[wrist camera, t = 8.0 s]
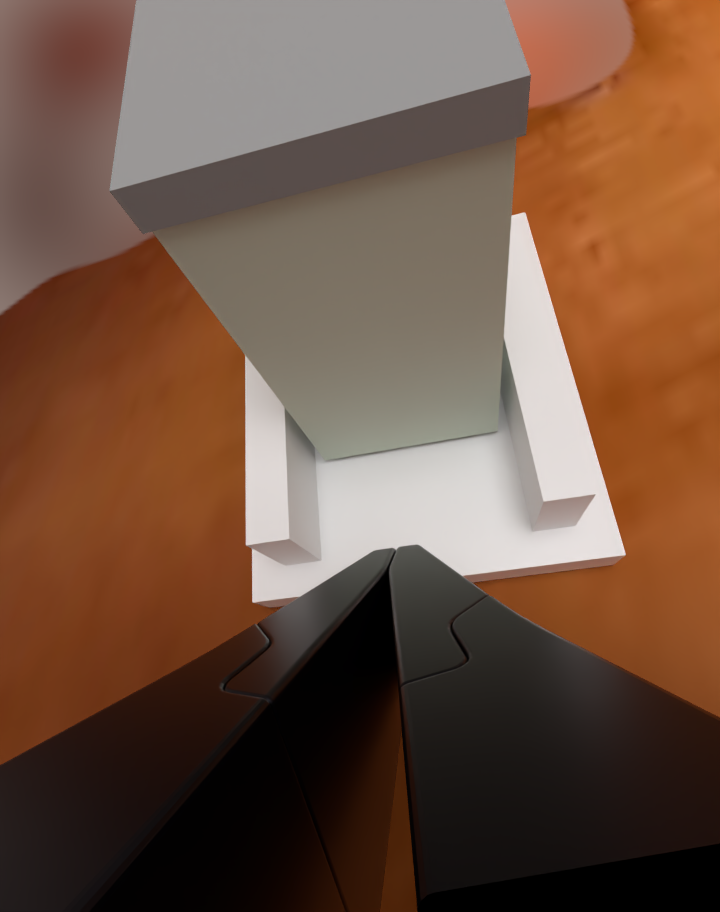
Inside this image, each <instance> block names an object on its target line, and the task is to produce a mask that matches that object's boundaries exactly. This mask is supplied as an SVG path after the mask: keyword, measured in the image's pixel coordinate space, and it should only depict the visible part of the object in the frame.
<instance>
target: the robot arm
mask: <svg viewBox="0 0 720 912" xmlns="http://www.w3.org/2000/svg"><path fill="white" fill-rule="evenodd" d="M401 728H402V738H403V750H404V761H405V773H406V784H407V795H408V807H409V818H410V830H411V841H412V853H413V864H414V875H415V887H416V898H417V910H418V912H720V718H719V717H718V716H716V715H714V714H712V713H710V712H708V711H706V710H704V709H702V708H700V707H698V706H696V705H694V704H692V703H690V702H688V701H686V700H684V699H682V698H680V697H678V696H676V695H674V694H672V693H670V692H668V691H666V690H664V689H662V688H660V687H658V686H656V685H654V684H652V683H651V682H649V681H647V680H645V679H643V678H641V677H639V676H637V675H635V674H633V673H631V672H629V671H627V670H625V669H623V668H621V667H619V666H617V665H615V664H613V663H611V662H609V661H607V660H605V659H603V658H601V657H599V656H597V655H595V654H593V653H591V652H589V651H587V650H585V649H584V648H582V647H580V646H578V645H576V644H574V643H572V642H570V641H568V640H566V639H564V638H562V637H560V636H558V635H556V634H554V633H552V632H550V631H548V630H546V629H544V628H542V627H541V626H539V625H537V624H535V623H533V622H531V621H530V620H528V619H526V618H524V617H522V616H521V615H519V614H517V613H516V612H514V611H513V610H511V609H510V608H508V607H507V606H505V605H504V604H502V603H501V602H499V601H498V600H496V599H495V598H494V597H492V596H489V595H488V594H487V593H485V592H484V591H483V590H481V589H480V588H478V587H477V586H476V585H474V584H473V583H471V582H470V581H469V580H467V579H466V578H465V577H463V576H462V575H460V574H459V573H458V572H456V571H455V570H453V569H452V568H451V567H449V566H448V565H446V564H445V563H444V562H442V561H441V560H440V559H438V558H437V557H435V556H434V555H433V554H431V553H430V552H428V551H427V550H426V549H424V548H423V547H421V546H420V545H417V544H416V545H408V546H400V547H398V548H397V550H396V549H394V548H386V549H380V550H374V551H372V552H371V553H369V554H367V555H366V556H364V557H363V558H361V559H359V560H358V561H356V562H355V563H353V564H351V565H350V566H348V567H347V568H345V569H343V570H342V571H340V572H339V573H337V574H335V575H334V576H332V577H331V578H329V579H327V580H326V581H324V582H323V583H321V584H319V585H318V586H316V587H315V588H313V589H311V590H310V591H308V592H307V593H305V594H303V595H302V596H300V597H299V598H297V599H295V600H294V601H292V602H291V603H289V604H287V605H286V606H284V607H283V608H281V609H279V610H278V611H276V612H275V613H273V614H271V615H270V616H268V617H267V618H265V619H263V620H262V621H260V622H259V623H258V624H257V625H256V624H254V625H252V626H251V627H249V628H247V629H246V630H244V631H243V632H241V633H239V634H238V635H236V636H234V637H233V638H231V639H229V640H228V641H226V642H224V643H223V644H221V645H219V646H218V647H216V648H214V649H213V650H211V651H209V652H207V653H206V654H204V655H202V656H200V657H198V658H197V659H195V660H193V661H191V662H189V663H188V664H186V665H184V666H182V667H181V668H179V669H177V670H175V671H173V672H171V673H170V674H168V675H166V676H164V677H162V678H160V679H158V680H157V681H155V682H153V683H151V684H149V685H147V686H146V687H144V688H142V689H140V690H138V691H136V692H134V693H133V694H131V695H129V696H127V697H125V698H123V699H122V700H120V701H118V702H116V703H114V704H112V705H110V706H109V707H107V708H105V709H103V710H101V711H99V712H98V713H96V714H94V715H92V716H90V717H88V718H87V719H85V720H83V721H81V722H79V723H77V724H75V725H74V726H72V727H70V728H68V729H66V730H64V731H63V732H61V733H59V734H57V735H55V736H53V737H51V738H50V739H48V740H46V741H44V742H42V743H40V744H39V745H37V746H35V747H33V748H31V749H29V750H27V751H26V752H24V753H22V754H20V755H18V756H16V757H15V758H13V759H11V760H9V761H7V762H5V763H4V764H2V765H0V912H380V906H381V897H382V889H383V880H384V872H385V863H386V855H387V846H388V838H389V829H390V821H391V813H392V804H393V796H394V787H395V779H396V770H397V762H398V753H399V745H400V736H401Z"/></svg>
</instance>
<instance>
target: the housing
mask: <svg viewBox="0 0 720 912" xmlns="http://www.w3.org/2000/svg"><path fill="white" fill-rule="evenodd" d="M245 404H246V546H248V547H250V548H252V603H256V604H259V605H263V606H266V607H270V608H272V607H280V606H286V605H287V604H289V603H291V602H292V601H294V600H295V599H297V598H299V597H300V596H302V595H303V594H305V593H307V592H308V591H310V590H311V589H313V588H315V587H316V586H318V585H319V584H321V583H323V582H324V581H326V580H327V579H329V578H331V577H332V576H334V575H335V574H337V573H339V572H340V571H342V570H343V569H345V568H347V567H348V566H350V565H351V564H353V563H355V562H356V561H358V560H359V559H361V558H363V557H364V556H366V555H367V554H369V553H371V552H372V551H374V550H380V549H386V548H394V549H396V550H397V548H398V547H400V546H408V545H416V544H417V545H420V546H421V547H423V548H424V549H426V550H427V551H428V552H430V553H431V554H433V555H434V556H435V557H437V558H438V559H440V560H441V561H442V562H444V563H445V564H446V565H448V566H449V567H451V568H452V569H453V570H455V571H456V572H458V573H459V574H460V575H462V576H463V577H465V578H466V579H467V580H469V581H470V582H471V583H472V582H480V581H488V580H496V579H504V578H512V577H520V576H528V575H536V574H544V573H552V572H560V571H568V570H576V569H584V568H592V567H600V566H608V565H614V564H615V563H616V562H618V561H619V560H620V559H621V558H623V557H624V556H625V555H626V554H625V550H624V547H623V544H622V540H621V537H620V533H619V530H618V527H617V523H616V520H615V516H614V513H613V510H612V506H611V503H610V499H609V496H608V493H607V489H606V486H605V482H604V479H603V476H602V472H601V469H600V465H599V462H598V459H597V455H596V452H595V448H594V445H593V442H592V438H591V435H590V431H589V428H588V425H587V421H586V418H585V414H584V411H583V408H582V404H581V401H580V397H579V394H578V391H577V387H576V384H575V380H574V377H573V374H572V370H571V367H570V363H569V360H568V357H567V353H566V350H565V346H564V343H563V340H562V336H561V333H560V329H559V326H558V323H557V319H556V316H555V313H554V309H553V306H552V302H551V299H550V296H549V292H548V289H547V285H546V282H545V279H544V275H543V272H542V268H541V265H540V262H539V258H538V255H537V251H536V248H535V245H534V241H533V238H532V234H531V231H530V228H529V224H528V221H527V217H526V214H525V213H521V214H516V215H512V216H511V231H510V247H509V262H508V278H507V293H506V309H505V324H504V340H503V355H502V371H501V386H500V402H499V417H498V431H495V432H489V433H483V434H477V435H472V436H466V437H460V438H454V439H448V440H442V441H436V442H430V443H424V444H419V445H413V446H407V447H401V448H395V449H389V450H383V451H377V452H371V453H366V454H360V455H354V456H348V457H342V458H336V459H330V460H324V459H323V457H322V456H321V455H320V453H319V452H318V451H317V449H316V448H315V447H314V445H313V444H312V443H311V441H310V440H309V439H308V437H307V436H306V435H305V433H304V432H303V431H302V429H301V428H300V427H299V425H298V424H297V423H296V421H295V420H294V419H293V418H292V416H291V415H290V414H289V412H288V411H287V410H286V408H285V407H284V406H283V404H282V403H281V402H280V400H279V399H278V398H277V396H276V395H275V394H274V392H273V391H272V390H271V388H270V387H269V386H268V384H267V383H266V382H265V380H264V379H263V378H262V376H261V375H260V374H259V372H258V371H257V370H256V368H255V367H254V366H253V365H252V363H251V362H250V361H249V359H248V358H247V357H246V355H245Z"/></svg>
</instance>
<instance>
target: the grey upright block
mask: <svg viewBox="0 0 720 912" xmlns="http://www.w3.org/2000/svg"><path fill="white" fill-rule="evenodd" d="M530 76H531V74H530V72H529V69H528V66H527V63H526V60H525V57H524V55H523V51H522V49H521V46H520V43H519V40H518V37H517V35H516V32H515V29H514V26H513V23H512V20H511V18H510V14H509V12H508V9H507V6H506V3H505V0H136V6H135V13H134V22H133V28H132V35H131V42H130V49H129V57H128V63H127V70H126V78H125V85H124V92H123V99H122V106H121V113H120V120H119V127H118V135H117V142H116V149H115V156H114V163H113V170H112V177H111V184H110V192H111V194H112V195H113V196H114V197H115V199H116V200H117V201H118V203H119V204H120V205H121V206H122V208H123V209H124V210H125V211H126V213H127V214H128V215H129V217H130V218H131V219H132V221H133V222H134V223H135V224H136V226H137V227H138V228H139V230H140V231H141V232H142V233H143V234H144V233H148V232H153V233H154V235H155V236H156V237H157V239H158V240H159V241H160V243H161V244H162V245H163V247H164V248H165V249H166V251H167V252H168V253H169V255H170V256H171V257H172V258H173V260H174V261H175V262H176V264H177V265H178V266H179V268H180V269H181V270H182V272H183V273H184V274H185V276H186V277H187V278H188V280H189V281H190V282H191V284H192V285H193V286H194V288H195V289H196V290H197V292H198V293H199V294H200V296H201V297H202V298H203V300H204V301H205V302H206V304H207V305H208V306H209V308H210V309H211V310H212V311H213V313H214V314H215V315H216V317H217V318H218V319H219V321H220V322H221V323H222V325H223V326H224V327H225V329H226V330H227V331H228V333H229V334H230V335H231V337H232V338H233V339H234V341H235V342H236V343H237V345H238V346H239V347H240V349H241V350H242V351H243V353H244V354H245V355H246V357H247V358H248V359H249V361H250V362H251V363H252V365H253V366H254V367H255V368H256V370H257V371H258V372H259V374H260V375H261V376H262V378H263V379H264V380H265V382H266V383H267V384H268V386H269V387H270V388H271V390H272V391H273V392H274V394H275V395H276V396H277V398H278V399H279V400H280V402H281V403H282V404H283V406H284V407H285V408H286V410H287V411H288V412H289V414H290V415H291V416H292V418H293V419H294V420H295V421H296V423H297V424H298V425H299V427H300V428H301V429H302V431H303V432H304V433H305V435H306V436H307V437H308V439H309V440H310V441H311V443H312V444H313V445H314V447H315V448H316V449H317V451H318V452H319V453H320V455H321V456H322V457H323V459H324V460H330V459H336V458H342V457H348V456H354V455H360V454H366V453H371V452H377V451H383V450H389V449H395V448H401V447H407V446H413V445H419V444H424V443H430V442H436V441H442V440H448V439H454V438H460V437H466V436H472V435H477V434H483V433H489V432H495V431H498V417H499V402H500V386H501V371H502V355H503V340H504V324H505V309H506V293H507V278H508V262H509V247H510V231H511V216H512V200H513V185H514V169H515V154H516V138H517V137H521V136H524V135H526V127H527V115H528V102H529V90H530V78H531V77H530Z"/></svg>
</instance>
